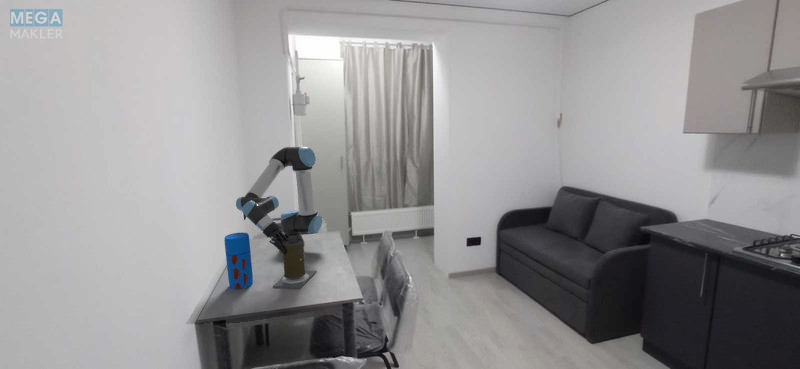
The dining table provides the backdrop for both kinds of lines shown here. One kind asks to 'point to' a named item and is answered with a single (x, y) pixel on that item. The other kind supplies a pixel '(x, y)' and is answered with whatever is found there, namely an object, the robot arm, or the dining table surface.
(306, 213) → the robot arm
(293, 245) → the canister
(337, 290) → the dining table surface
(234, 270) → the thermos
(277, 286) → the circle mat
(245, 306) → the dining table surface
